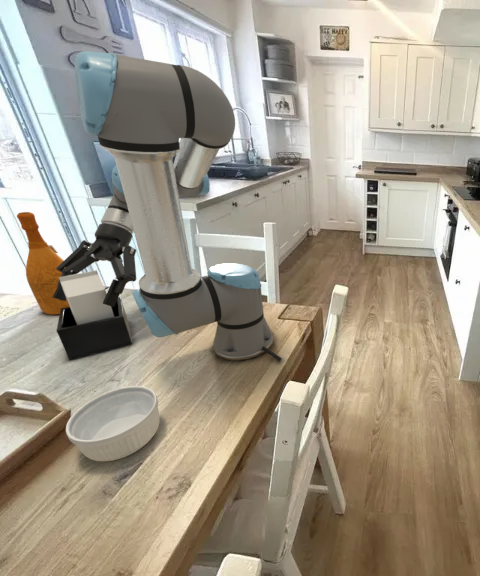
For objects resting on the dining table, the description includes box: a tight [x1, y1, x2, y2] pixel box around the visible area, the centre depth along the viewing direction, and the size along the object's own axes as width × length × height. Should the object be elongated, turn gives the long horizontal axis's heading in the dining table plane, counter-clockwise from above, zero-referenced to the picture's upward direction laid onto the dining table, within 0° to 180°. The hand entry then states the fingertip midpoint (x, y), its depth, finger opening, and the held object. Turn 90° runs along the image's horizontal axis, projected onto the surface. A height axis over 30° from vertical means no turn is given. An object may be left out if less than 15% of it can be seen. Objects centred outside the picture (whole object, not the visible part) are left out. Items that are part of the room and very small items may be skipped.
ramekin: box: [65, 385, 160, 462], centre depth 61 cm, size 13×13×7 cm
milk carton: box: [59, 270, 114, 325], centre depth 84 cm, size 7×7×19 cm
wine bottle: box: [16, 211, 70, 315], centre depth 94 cm, size 10×10×30 cm
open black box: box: [56, 296, 133, 361], centre depth 86 cm, size 13×13×9 cm
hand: (83, 302), depth 82 cm, fingers open, 13 cm apart
